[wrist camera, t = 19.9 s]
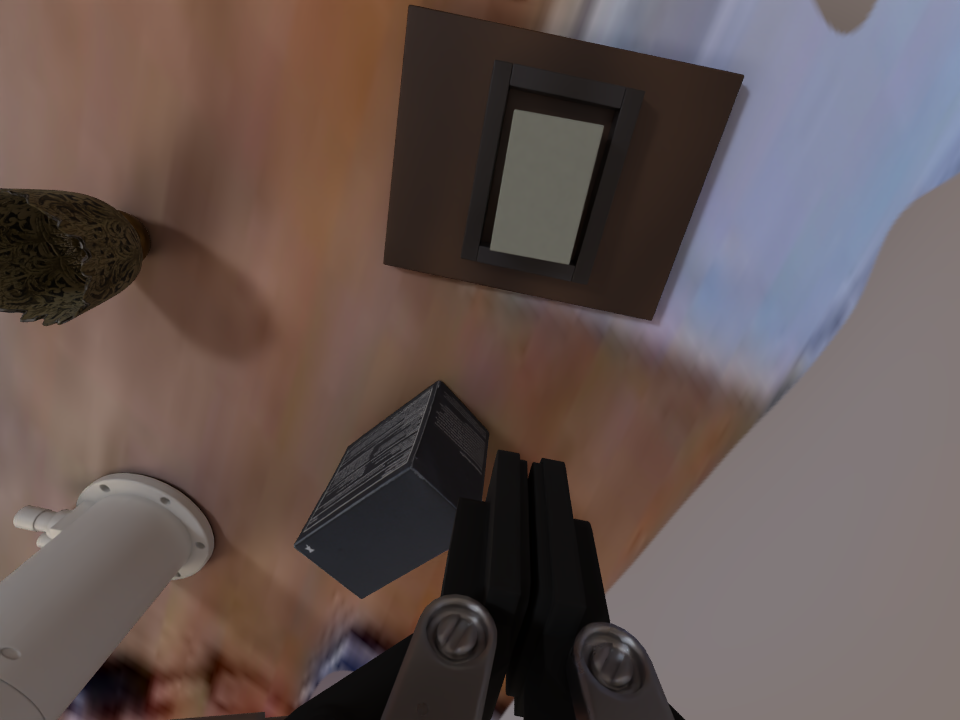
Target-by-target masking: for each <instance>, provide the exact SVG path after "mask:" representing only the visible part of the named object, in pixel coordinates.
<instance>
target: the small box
mask: <svg viewBox="0 0 960 720" xmlns="http://www.w3.org/2000/svg"><path fill="white" fill-rule="evenodd" d="M488 440H489V432H488V431H487V429H486V428H485V427H484V426H483V425H482V424H481V423H480V422H479V421H478V420H477V418H476V417H475V416H474V415H473V414H472V413H471V412H470V411H469V410H468V409H467V408H466V407H465V406H464V404H462V402H461V401H460V400H459V399H458V398H457V397H456V396H455V395H454V394H453V393H452V392H451V391H450V390H449V389H448V387H447V386H446V385H445V384H444V383H443V382H441V381H437V382H435V383H434V384H433V385H431V386H430V387H428V388H427V389H426V390H424V391H423V392H421V393H420V394H419V395H417V396H416V397H415V398H413V399H412V400H411V401H409V402H408V403H406V404H405V405H404V406H402V407H401V408H400V409H398V410H397V411H396V412H394V413H393V414H391V415H390V416H389V417H387V418H386V419H385V420H383V421H382V422H380V423H379V424H378V425H376V426H375V427H374V428H372V429H371V430H370V431H368V432H367V433H366V434H364V435H363V436H362V437H360V438H359V439H358V440H356V441H355V442H354V443H352V444H351V445H350V446H348V448H347V450H346V452H345V454H344V456H343V457H342V459H341V462H340V463H339V465H338V467H337V469H336V471H335V473H334V475H333V477H332V478H331V480H330V482H329V484H328V486H327V488H326V490H325V491H324V492H323V494H322V496H321V498H320V499H319V501H318V503H317V505H316V507H315V508H314V510H313V512H312V514H311V515H310V517H309V519H308V521H307V523H306V524H305V526H304V528H303V529H302V532H301V533H300V535H299V537H298V539H297V540H296V542H295V544H294V548H295V549H297V550H298V551H299V552H301V553H302V554H303V555H304V556H306V557H307V558H308V559H310V560H311V561H312V562H314V563H315V564H316V565H317V566H319V567H320V568H321V569H323V570H324V571H325V572H327V573H328V574H329V575H330V576H332V577H333V578H334V579H336V580H337V581H338V582H339V583H341V584H342V585H343V586H344V587H346V588H347V589H348V590H350V591H351V592H352V593H354V594H355V595H356V596H358V597H359V598H361V599H363V598H364V597H366V596H368V595H370V594H371V593H373V592H375V591H377V590H379V589H380V588H382V587H384V586H385V585H387V584H389V583H390V582H392V581H394V580H396V579H397V578H399V577H401V576H403V575H404V574H406V573H408V572H410V571H411V570H413V569H415V568H417V567H418V566H420V565H422V564H424V563H425V562H427V561H429V560H431V559H432V558H434V557H436V556H438V555H439V554H441V553H443V552H445V551H447V550H448V549H449V545H450V540H451V535H452V529H453V524H454V519H455V514H456V509H457V504H458V499H459V497H462V498H467V499H473V500H478V501H482V495H483V485H484V476H485V467H486V458H487V449H488Z"/></svg>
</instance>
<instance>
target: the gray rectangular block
mask: <svg viewBox="0 0 960 720" xmlns="http://www.w3.org/2000/svg"><path fill="white" fill-rule="evenodd" d="M603 129H604V126H603V125H599V124H593V123H588V122H582V121H577V120H571V119H566V118H561V117H555V116H550V115H544V114H539V113H533V112H528V111H522V110H517V109H515V110H514V113H513V119H512V125H511V131H510V136H509V142H508V148H507V154H506V159H505V165H504V171H503V176H502V182H501V188H500V194H499V199H498V205H497V211H496V217H495V222H494V228H493V234H492V240H491V245H490V250H492V251H497V252H502V253H508V254H513V255H519V256H524V257H529V258H535V259H540V260H545V261H551V262H556V263H561V264H567V265H569V263H570V260H571V256H572V252H573V248H574V244H575V240H576V236H577V232H578V228H579V224H580V220H581V216H582V212H583V208H584V204H585V200H586V196H587V192H588V189H589V185H590V181H591V177H592V173H593V169H594V165H595V161H596V157H597V153H598V149H599V145H600V141H601V137H602V133H603Z"/></svg>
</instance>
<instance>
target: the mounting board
mask: <svg viewBox="0 0 960 720" xmlns="http://www.w3.org/2000/svg"><path fill="white" fill-rule="evenodd" d="M743 78H744V75H742V74H737V73H733V72H728V71H723V70H718V69H714V68H709V67H704V66H699V65H695V64H690V63H685V62H680V61H676V60H671V59H666V58H661V57H657V56H652V55H647V54H642V53H638V52H633V51H628V50H623V49H619V48H614V47H609V46H605V45H600V44H595V43H590V42H586V41H581V40H576V39H571V38H567V37H562V36H557V35H552V34H548V33H543V32H538V31H533V30H529V29H524V28H519V27H514V26H510V25H505V24H500V23H495V22H491V21H486V20H481V19H476V18H472V17H467V16H462V15H457V14H453V13H448V12H443V11H439V10H434V9H429V8H424V7H420V6H415V5H409V7H408V17H407V27H406V37H405V47H404V58H403V68H402V78H401V88H400V99H399V109H398V119H397V129H396V140H395V150H394V160H393V170H392V181H391V191H390V201H389V211H388V221H387V232H386V242H385V252H384V262H383V263H384V264H385V265H390V266H395V267H399V268H404V269H409V270H414V271H418V272H423V273H428V274H433V275H437V276H442V277H447V278H451V279H456V280H461V281H466V282H470V283H475V284H480V285H485V286H489V287H494V288H499V289H504V290H508V291H513V292H518V293H523V294H527V295H532V296H537V297H541V298H546V299H551V300H556V301H560V302H565V303H570V304H575V305H579V306H584V307H589V308H594V309H598V310H603V311H608V312H613V313H617V314H622V315H627V316H631V317H636V318H641V319H646V320H652V319H653V316H654V314H655V311H656V308H657V306H658V303H659V300H660V298H661V295H662V292H663V290H664V287H665V284H666V282H667V279H668V277H669V274H670V271H671V269H672V266H673V263H674V261H675V258H676V255H677V253H678V250H679V247H680V245H681V242H682V240H683V237H684V234H685V232H686V229H687V226H688V224H689V221H690V218H691V216H692V213H693V210H694V208H695V205H696V203H697V200H698V197H699V195H700V192H701V189H702V187H703V184H704V181H705V179H706V176H707V174H708V171H709V168H710V166H711V163H712V160H713V158H714V155H715V152H716V150H717V147H718V144H719V142H720V139H721V137H722V134H723V131H724V129H725V126H726V123H727V121H728V118H729V115H730V113H731V110H732V107H733V105H734V102H735V100H736V97H737V94H738V92H739V89H740V86H741V84H742V81H743ZM515 109H517V110H522V111H528V112H533V113H539V114H544V115H550V116H555V117H561V118H566V119H571V120H577V121H582V122H588V123H593V124H599V125H603V126H604V129H603V133H602V137H601V141H600V145H599V149H598V153H597V157H596V161H595V165H594V169H593V173H592V177H591V181H590V185H589V189H588V192H587V196H586V200H585V204H584V208H583V212H582V216H581V220H580V224H579V228H578V232H577V236H576V240H575V244H574V248H573V252H572V256H571V260H570V263H569V265H567V264H561V263H556V262H551V261H545V260H540V259H535V258H529V257H524V256H519V255H513V254H508V253H502V252H497V251H492V250H490V245H491V240H492V234H493V228H494V222H495V217H496V211H497V205H498V199H499V194H500V188H501V182H502V176H503V171H504V165H505V159H506V154H507V148H508V142H509V136H510V131H511V125H512V119H513V113H514V110H515Z"/></svg>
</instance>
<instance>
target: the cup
mask: <svg viewBox="0 0 960 720" xmlns="http://www.w3.org/2000/svg"><path fill="white" fill-rule="evenodd" d="M150 248H151V240H150V236H149V233H148V231H147V229H146V228H145V226H144V225H143V224H142V223H141V222H140V221H139V220H138V219H137V218H136V217H134V216H133V215H131V214H129V213H126V212H123V211H120V210H116V209H115V208H113V207H112V206H110V205H109V204H107V203H105V202H103V201H101V200H99V199H97V198H94V197H91V196H88V195H84V194H80V193H75V192H67V191H58V190H38V189H2V188H0V312H8V313H15V312H19V313H24V314H23V315H22V317H21V318H20V322H33V321H37V320H39V319H43V318H44V319H45V320H44V322H43V326H49V325H52V324H55V323H58V325H60V324H63V323H66V322H68V321H70V320H72V319H74V318H75V317H77V316H79V315H81V314H83V313H84V312H86V311H88V310H90V309H92V308H94V307H96V306H97V305H99V304H101V303H103V302H105V301H107V300H108V299H110V298H112V297H113V296H115V295H117V294H118V293H120V292H121V291H123V290H124V289H125V288H127V287H128V286H129V285H130V284H131V283H132V282H133V281H134V280H135V278H136V277H137V275H138V274H139V271H140V269H141V266H142V261H143V260H144V259H145V258H146V256H147V255H148V253H149V251H150Z"/></svg>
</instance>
